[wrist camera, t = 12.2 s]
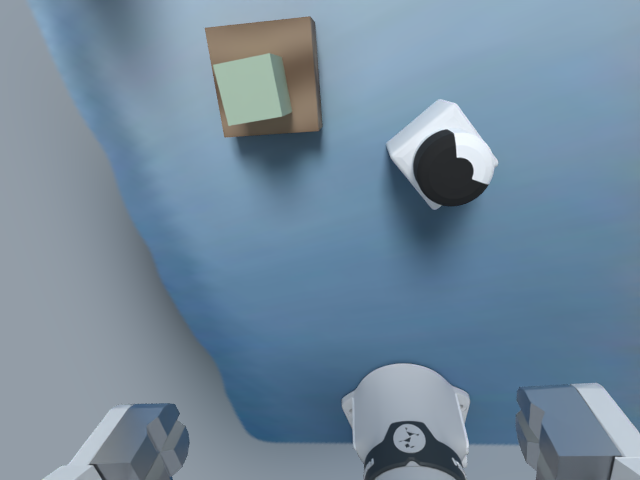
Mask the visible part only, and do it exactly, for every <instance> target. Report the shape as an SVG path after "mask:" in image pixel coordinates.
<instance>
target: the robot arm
mask: <svg viewBox="0 0 640 480" xmlns="http://www.w3.org/2000/svg"><path fill="white" fill-rule="evenodd" d="M517 402H518V404H519V406H520V408H521V410H520V411H519V412H518V413H517V414H516V432H517V437H518V442H519V445H520V448H521V451H522V453H523V455H524V458H525V461H526V462H527V464H529V465H530V466H531V467H532V468H533V469H535V470H536V471H537V474H536V480H640V433H639V432H638V430H637V429H636V428H635V427H634V425H633V424H632V423H631V421H630V420H629V419H628V418H627V416H626V415H625V414H624V413H623V411H622V410H621V409H620V408H619V406H618V405H617V404H616V403H615V401H614V400H613V399H612V398H611V396H610V395H609V394H608V392H607V391H606V390H605V389H604V387H603V386H601V385H599V384H598V383H585V384H570V385H568V384H563V385H545V386H528V387H519V389H518V391H517ZM469 405H470V398H469V395H468V393H467V392H465V391H463V390H461V389H459V388H456V387H454V386H452V385H450V384H449V383H448V382H447V381H446V380H445V379H444V378H443V377H442V376H441V375H439V374H438V373H436V372H435V371H433V370H431V369H429V368H426V367H423V366H420V365H415V364H392V365H387V366H384V367H381V368H378V369H376V370H374V371H373V372H371V373H370V374H368V375H367V376H366V377H365V378H364V379H363V380H362V381H361V382H360V384H359V385H358V387H357V388H356V389H355V390H354V391H353V392H351V393H349V394H348V395H346V396H345V397H343V399H342V408H343V410H344V413H345V415H346V417H347V419H348V421H349V423H350V425H351V427H352V429H353V447H354V450H356V451H357V454H358V456H359V458H360V459H361V461H362V462H363V464H364V475H363V477H364V480H467V478H466V474H465V472H464V470H463V468H466V467H467V456H466V455H468V453H469V448H468V447H469V442H468V438H467V433H466V429H465V425H464V424H465V420H466V416H467V412H468V409H469ZM179 414H180V413H179V411H178V409H177V407H176V405H175V404H170V403H165V404H164V403H161V404H124V405H123V404H122V405H116V406H115V407H113V408H111V409H110V410H109V412H108V413H107V414H106V416H105V417H104V419H103V420H102V421H101V422H100V424H99V425H98V427H96V429H95V430H94V431H93V433H92V434H91V435H90V437H89V438H88V439H87V441H86V442H85V443H84V444H83V446H82V447H81V448H80V450H79V451H78V452H77V454H76V455H75V456H74V458H73V459H72V461H70V463H69V464H68V465H65V466H64V465H63V466H61V467H59V468H58V469H56V470H55V471H54V472H52V473H51V474H49V475H48V476H47V477H45V478H44V479H42V480H173V479H172V476H173V475H174V474H175V473H176V472H178V471H179V470H180V469H181V468H182V466H183V464H184V462H185V460H186V457H187V454H188V448H189V434H188V431H187V429H186V426H185V425H183V424H182V423H181V422H179V421H178V420H177V419H178V416H179Z"/></svg>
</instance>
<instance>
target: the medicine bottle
mask: <svg viewBox="0 0 640 480" xmlns="http://www.w3.org/2000/svg"><path fill="white" fill-rule="evenodd" d="M386 146H387V149H388V152H389V155H390V157H391V159H392V160H393V162H394V163H395V164H396V165H397V167H398V168H399V169H400V170H401V171H402V173H403V174H404V175H405V176H406V178H407V179H408V180H409V181H410V183H411V184H412V185H413V186H414V187H415V189H416V190H417V191H418V192H419V194H420V195H421V196H422V197H423V198H424V200H425V201H426V202H427V203H428V205H429V206H430V207H431V208H432V209H433V210H436V209H438V208H439V207H441V206H442V205H443V206H459V205H463V204H466V203H468V202H470V201H472V200H474V199H475V198H477V197H478V196H479V195H480V194H482V193H483V191H484V190H485V189H486V188H487V186H488V185H489V183H490V181H491V179H492V176H493V172H494V168H495V167H496V166H497V165H498V160H497V159H496V158H495V156H494V155H493V153H492V152H491V150H490V148H489V147H488V145H487V144H486V143H485V142H484V141H483V140H482V138H481V137H480V135H479V134H478V133H477V131H476V130H475V129H474V127H473V126H472V124H471V123H470V122H469V120H468V119H467V117H466V116H465V115H464V113H463V112H462V111H461V109H460V108H459V106H458V105H457V104H456V103H452V102H448V101H445V100H441V99H439V100H437V101H436V102H435V103H433V104H432V105H431V106H430V107H429V108H427V109H426V110H425V111H424V112H423V113H421V114H420V115H419V116H418V117H417V118H415V119H414V120H413V121H412V122H411V123H409V124H408V125H407V126H406V127H405V128H404V129H402V130H401V131H400V132H399V133H398V134H396V135H395V136H394V137H393V138H392V139H390V140H389V141H388V142H387V143H386Z"/></svg>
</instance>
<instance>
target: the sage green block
mask: <svg viewBox="0 0 640 480" xmlns="http://www.w3.org/2000/svg"><path fill="white" fill-rule="evenodd" d="M213 68H214V71H215V75H216V79H217V83H218V87H219V91H220V95H221V99H222V103H223V106H224V110H225V114H226V118H227V122H228V126H231V125H237V124H242V123H248V122H254V121H260V120H265V119H271V118H277V117H282V116H285V115H287V114H289V113H291V112H292V108H291V103H290V97H289V92H288V87H287V82H286V76H285V71H284V66H283V61H282V57H280V56H277V55H274V54H271V53H268V54H263V55H259V56H254V57H249V58H244V59H239V60H234V61H229V62H225V63H220V64H215V65H213Z"/></svg>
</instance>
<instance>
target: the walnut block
mask: <svg viewBox="0 0 640 480" xmlns="http://www.w3.org/2000/svg"><path fill="white" fill-rule="evenodd" d="M205 32H206V37H207V43H208V48H209V54H210V60H211V65H212V71H213V76H214V82H215V88H216V93H217V99H218V104H219V110H220V115H221V121H222V127H223V132H224V137H238V136H252V135H267V134H282V133H297V132H312V131H319V130H320V129H321V128H322V114H321V100H320V86H319V72H318V58H317V45H316V31H315V22H314V20H313V19H312V18H311V17H301V18H292V19H282V20H273V21H264V22H255V23H246V24H237V25H227V26H218V27H209V28H205ZM268 53H271V54H274V55H277V56H280V57H282V61H283V66H284V71H285V76H286V82H287V87H288V92H289V97H290V103H291V108H292V112H291V113H289V114H287V115H285V116H282V117H277V118H271V119H265V120H260V121H254V122H248V123H242V124H237V125H231V126H228V122H227V118H226V114H225V110H224V106H223V103H222V99H221V95H220V91H219V87H218V83H217V79H216V75H215V71H214V68H213V65H215V64H220V63H225V62H229V61H234V60H239V59H244V58H249V57H254V56H259V55H263V54H268Z"/></svg>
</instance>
